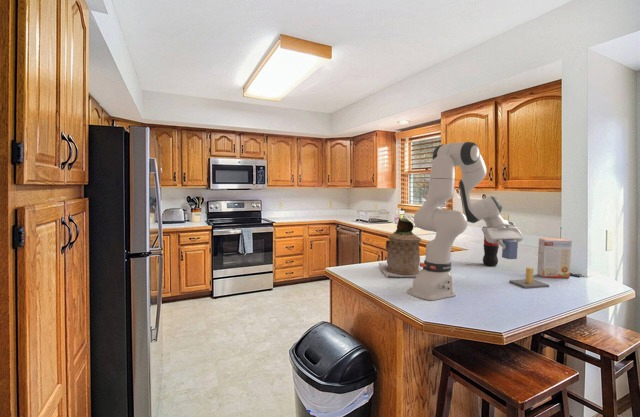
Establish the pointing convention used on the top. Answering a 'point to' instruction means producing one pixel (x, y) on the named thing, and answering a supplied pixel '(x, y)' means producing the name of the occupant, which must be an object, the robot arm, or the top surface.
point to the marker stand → (529, 281)
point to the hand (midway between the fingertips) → (510, 248)
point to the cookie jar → (402, 252)
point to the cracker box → (554, 258)
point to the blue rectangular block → (510, 249)
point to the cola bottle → (490, 253)
